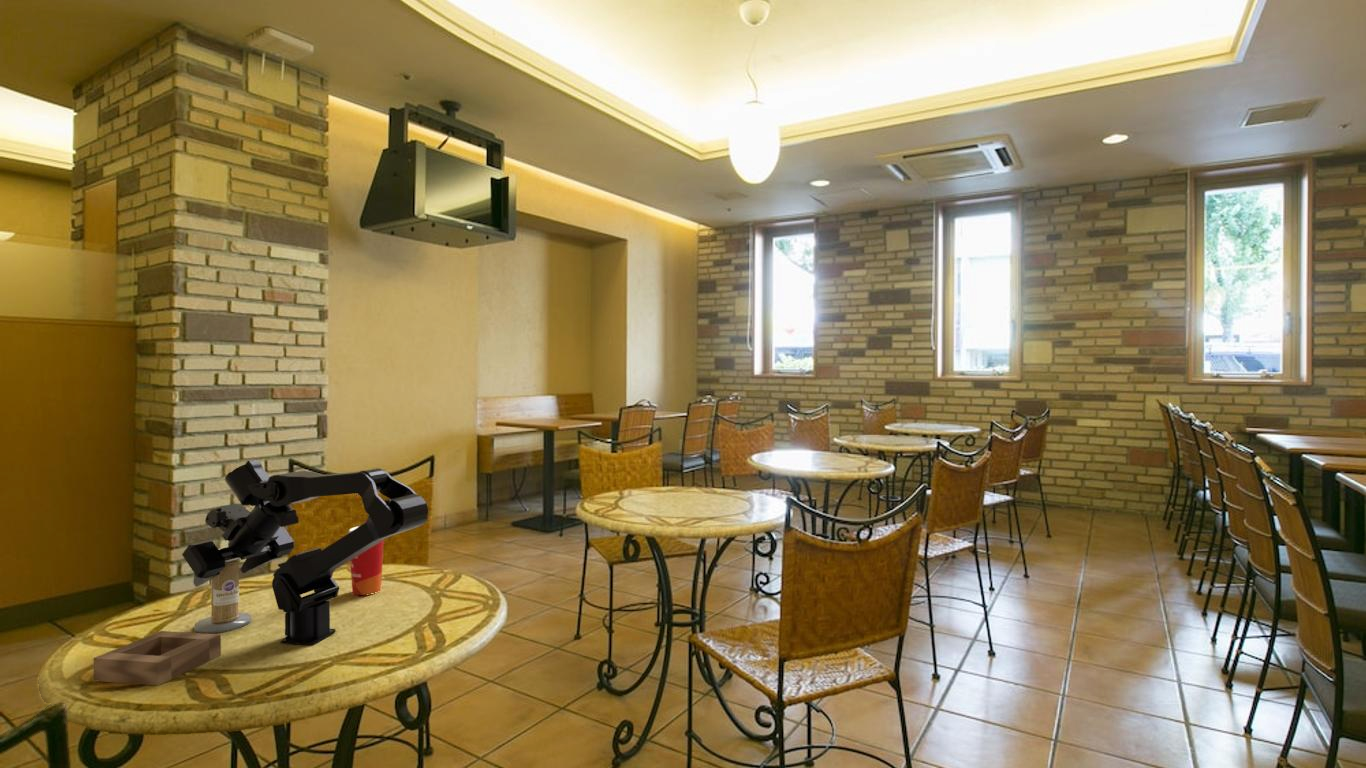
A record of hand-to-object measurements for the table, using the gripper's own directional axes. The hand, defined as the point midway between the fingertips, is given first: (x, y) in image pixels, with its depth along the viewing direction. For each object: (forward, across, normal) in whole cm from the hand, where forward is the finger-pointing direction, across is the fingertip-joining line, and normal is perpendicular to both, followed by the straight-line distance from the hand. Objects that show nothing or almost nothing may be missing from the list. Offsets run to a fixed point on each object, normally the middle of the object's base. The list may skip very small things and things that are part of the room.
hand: (219, 577), depth 129 cm
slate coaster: (+6, 0, +7) cm, 9 cm away
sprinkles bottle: (+5, 0, +7) cm, 8 cm away
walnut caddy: (-1, +17, +13) cm, 22 cm away
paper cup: (-2, -25, +15) cm, 29 cm away
